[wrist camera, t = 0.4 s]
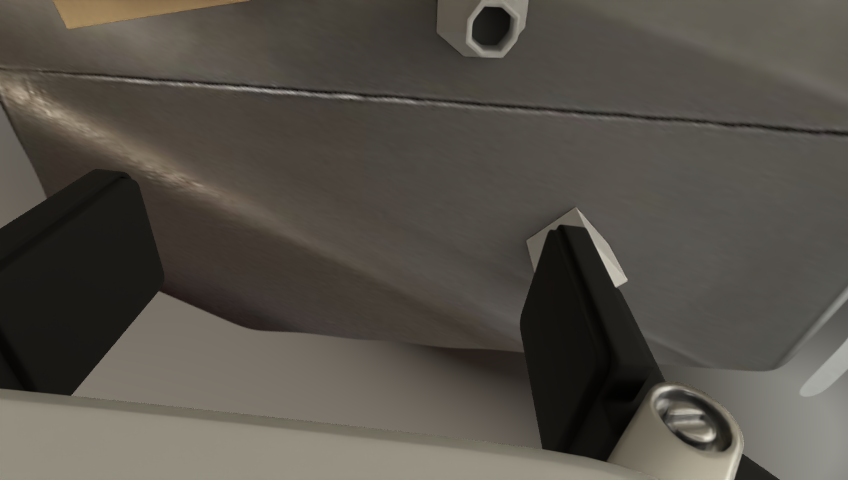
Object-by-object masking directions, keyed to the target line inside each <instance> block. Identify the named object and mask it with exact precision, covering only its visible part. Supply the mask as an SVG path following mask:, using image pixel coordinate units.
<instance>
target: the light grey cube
mask: <svg viewBox="0 0 848 480" xmlns="http://www.w3.org/2000/svg"><path fill="white" fill-rule="evenodd" d="M560 224H563V225H571V226H579V227H585V228H586V229H587V230H588V232H589V234H590V236H591V238H592V240H593V242H594V244H595V246H596V248H597V251H598V253H599V255H600V257H601V259H602V261H603V263H604V265H605V267H606V269H607V271H608V273H609V275H610V277H611V279H612V281H613V283H614V285H615V287H617V286H619V285H621V284H623V283H625V282H626V281H628V280H627V278H626V276H625V274H624V273H623V271H622V269H621V267H620V265H619V263H618V261H617V259H616V258H615V256H614V254H613V252H612V250H611V248H610V246H609V244H608V243H607V242H606V241H605V240H604V238H603V237H602V236H601V235H600V234H599V233H598V232H597V230H596V229H595V228H594V227H593V226H592V225H591V224H590V223H589V221H588V220H587V219H586V218H585V217H584V216H583V215H582V213H581V212H580V211H579V210H578V209H577V208H576V207H575V208H573V209H572V210H570V211H569V212H567V213H566V214H564V215H563V216H562V217H560V218H559V219H557V220H556V221H554V222H553V223H551V224H550V225H548V226H547V227H545V228H544V229H542V230H541V231H540V232H538V233H537V234H535V235H534V236H532V237H531V238H529V239H528V240H526V242H527V246H528V249H529V253H530V257H531V261H532V265H533V269H534V272H535V270H536V267H537V264H538V261H539V258H540V255H541V252H542V249H543V246H544V242H545V239H546V236H547V234H548V232H549V230H551V229H552V230H556V229H557V227H558V226H559V225H560Z"/></svg>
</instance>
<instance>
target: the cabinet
mask: <svg viewBox="0 0 848 480" xmlns="http://www.w3.org/2000/svg"><path fill="white" fill-rule="evenodd" d="M244 1H250V0H53V2H54V4H55V6H56V8H57V10H58V12H59V14H60V15H61V17H62V19H63V21H64V23H65V25H66V27H67V28H68V29H73V28H79V27H85V26H92V25H98V24H104V23H111V22H117V21H123V20H130V19H136V18H142V17H149V16H155V15H161V14H168V13H174V12H181V11H187V10H193V9H200V8H206V7H212V6H219V5H225V4H231V3H238V2H244Z"/></svg>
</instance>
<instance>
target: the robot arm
mask: <svg viewBox="0 0 848 480" xmlns="http://www.w3.org/2000/svg"><path fill="white" fill-rule="evenodd" d="M163 282H164V271H163V268H162V264H161V261H160V257H159V254H158V250H157V247H156V243H155V240H154V236H153V233H152V230H151V226H150V223H149V219H148V216H147V212H146V209H145V205H144V202H143V198H142V195H141V191H140V188H139V185H138V183H137V182H136V181H135V180H132V179H131V177H130V176H129V175H128V174H127V173H125V172H119V171H110V170H102V169H95V170H92V171H91V172H89V173H87V174H86V175H84V176H83V177H81V178H80V179H78V180H76V181H75V182H73V183H72V184H70V185H68V186H67V187H65V188H64V189H62V190H61V191H59V192H57V193H56V194H54V195H53V196H51V197H49V198H48V199H46V200H45V201H43V202H42V203H40V204H38V205H37V206H35V207H34V208H32V209H31V210H29V211H27V212H26V213H24V214H23V215H21V216H19V217H18V218H16V219H15V220H13V221H12V222H10V223H8V224H7V225H5V226H4V227H2V228H1V229H0V480H779V479H778V478H777V477H775V476H773V475H772V474H771V473H769V472H768V471H767V470H765V469H764V468H762V467H761V466H759V465H758V464H756V463H755V462H754V461H752V460H751V459H749V458H748V457H746V456H745V455H744V454H742V452H743V442H744V439H743V436H742V433H741V430H740V428H739V426H738V424H737V423H736V421H735V420H734V419H733V417H732V415H731V414H730V413H729V412H728V411H727V410H726V409H725V408H724V407H723V406H722V405H721V404H720V403H719V402H717V401H716V400H715V399H713V398H712V397H710V396H709V395H708V394H706V393H705V392H703V391H701V390H698V389H696V388H694V387H692V386H690V385H686V384H682V383H679V382H666V381H665V379H664V377H663V375H662V373H661V371H660V370H659V367H658V365H657V363H656V361H655V359H654V357H653V355H652V353H651V351H650V349H649V347H648V345H647V343H646V341H645V339H644V337H643V335H642V333H641V331H640V329H639V327H638V325H637V323H636V321H635V319H634V317H633V315H632V313H631V311H630V309H629V307H628V305H627V303H626V301H625V299H624V297H623V295H622V293H621V292H620V290H619V289H618V288H616V287H615V285H614V283H613V281H612V279H611V277H610V275H609V273H608V271H607V269H606V267H605V265H604V263H603V261H602V259H601V257H600V255H599V253H598V251H597V248H596V246H595V244H594V242H593V240H592V238H591V236H590V234H589V232H588V230H587V229H586V228H585V227H579V226H571V225H563V224H560V225H559V226H558V227H557V229H556V230H552V229H551V230H549V232H548V234H547V236H546V239H545V242H544V246H543V249H542V252H541V255H540V258H539V261H538V264H537V267H536V270H535V273H534V277H533V280H532V283H531V286H530V289H529V292H528V295H527V298H526V301H525V304H524V308H523V311H522V314H521V319H520V331H521V336H522V341H523V347H524V352H525V357H526V363H527V368H528V374H529V379H530V384H531V390H532V395H533V400H534V406H535V411H536V417H537V421H538V427H539V432H540V438H541V443H542V449H538V448H530V447H522V446H515V445H507V444H499V443H492V442H484V441H476V440H469V439H461V438H452V437H444V436H435V435H427V434H418V433H409V432H400V431H391V430H382V429H374V428H365V427H356V426H347V425H337V424H330V423H320V422H312V421H303V420H293V419H284V418H275V417H265V416H256V415H248V414H238V413H229V412H219V411H210V410H201V409H192V408H182V407H173V406H164V405H154V404H145V403H135V402H126V401H125V402H124V401H116V400H105V399H96V398H87V397H76V396H71V395H72V394H73V393H74V391H75V390H76V389H77V388H78V387H79V385H80V384H81V383H82V382H83V381H84V379H85V378H86V377H87V376H88V375H89V374H90V372H91V371H92V370H93V369H94V368H95V366H96V365H97V364H98V363H99V362H100V360H101V359H102V358H103V357H104V355H105V354H106V353H107V352H108V351H109V350H110V348H111V347H112V346H113V345H114V344H115V343H116V341H117V340H118V339H119V338H120V337H121V335H122V334H123V333H124V332H125V331H126V329H127V328H128V327H129V326H130V324H131V323H132V322H133V321H134V320H135V319H136V317H137V316H138V315H139V314H140V313H141V311H142V310H143V309H144V308H145V307H146V305H147V304H148V303H149V302H150V301H151V300H152V298H153V297H154V296H155V295H156V294H157V292H158V291H159V290H160V289H161V287H162V285H163Z"/></svg>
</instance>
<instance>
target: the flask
mask: <svg viewBox="0 0 848 480" xmlns="http://www.w3.org/2000/svg"><path fill="white" fill-rule="evenodd" d="M528 1H529V0H438V6H437V33H438V34H439V35H440V36H441V37H442V38H443V39H445V40H446V41H447V42H448V43H449V44H450V45H451V46H453V47H454V48H455V49H456V50H457V51H458V52H459V53H461V54H462V55H463V56H464V57H490V58H503V57H504V56H505V54H506V53H507V52H508V51H509V50H510V48H511V47H512V46H513V45H514V44H515V43H516V41H517V40H518V35H519V34H520V33H521V31H522V30H523V29H524V28H525V23H526V16H527V9H528Z"/></svg>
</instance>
